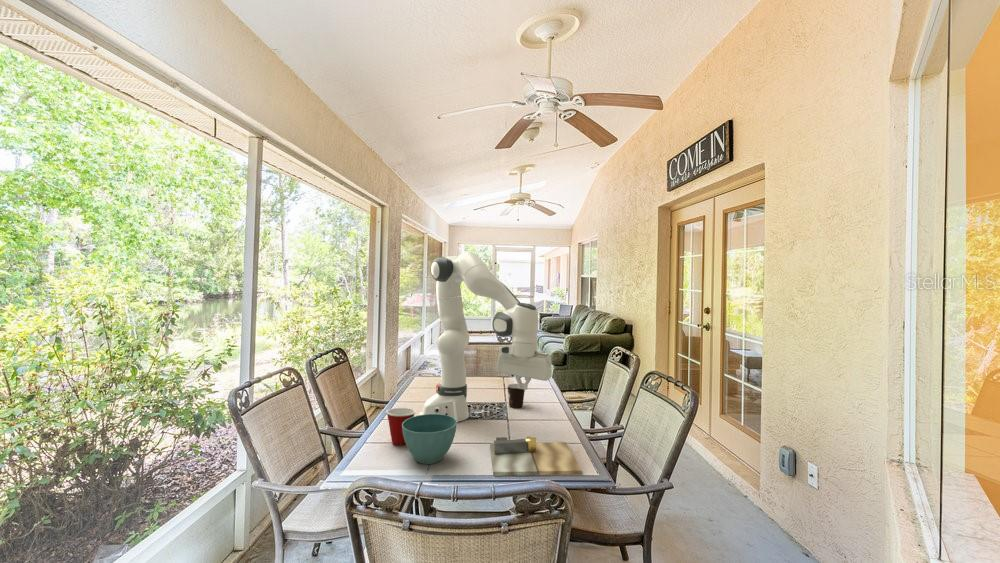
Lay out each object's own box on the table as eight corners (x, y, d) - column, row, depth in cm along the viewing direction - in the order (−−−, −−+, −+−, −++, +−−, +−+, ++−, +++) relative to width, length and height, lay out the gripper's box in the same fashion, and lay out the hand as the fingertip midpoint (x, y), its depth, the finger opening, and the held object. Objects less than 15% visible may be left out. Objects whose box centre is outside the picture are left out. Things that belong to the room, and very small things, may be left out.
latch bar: (534, 447, 142) (534, 436, 142) (537, 451, 139) (537, 440, 139) (493, 450, 139) (493, 438, 139) (495, 454, 136) (495, 442, 136)
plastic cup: (421, 440, 151) (421, 408, 151) (402, 450, 141) (403, 416, 141) (398, 434, 156) (399, 404, 156) (379, 444, 146) (379, 412, 146)
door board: (493, 475, 124) (493, 471, 124) (490, 446, 146) (490, 443, 146) (582, 474, 126) (582, 470, 126) (565, 445, 148) (565, 442, 148)
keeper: (496, 449, 141) (496, 440, 141) (495, 445, 144) (496, 437, 144) (507, 449, 141) (507, 440, 141) (507, 445, 144) (507, 437, 144)
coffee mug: (523, 410, 188) (523, 388, 188) (505, 408, 190) (505, 387, 190) (526, 402, 200) (527, 382, 200) (509, 401, 201) (510, 381, 201)
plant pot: (407, 475, 124) (407, 435, 124) (397, 452, 140) (398, 417, 140) (463, 465, 131) (463, 428, 131) (447, 444, 148) (448, 411, 148)
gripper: (555, 352, 138) (553, 392, 138) (504, 345, 149) (502, 382, 149) (547, 355, 133) (546, 396, 133) (495, 347, 143) (493, 385, 143)
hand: (522, 389), depth 141 cm, fingers closed
